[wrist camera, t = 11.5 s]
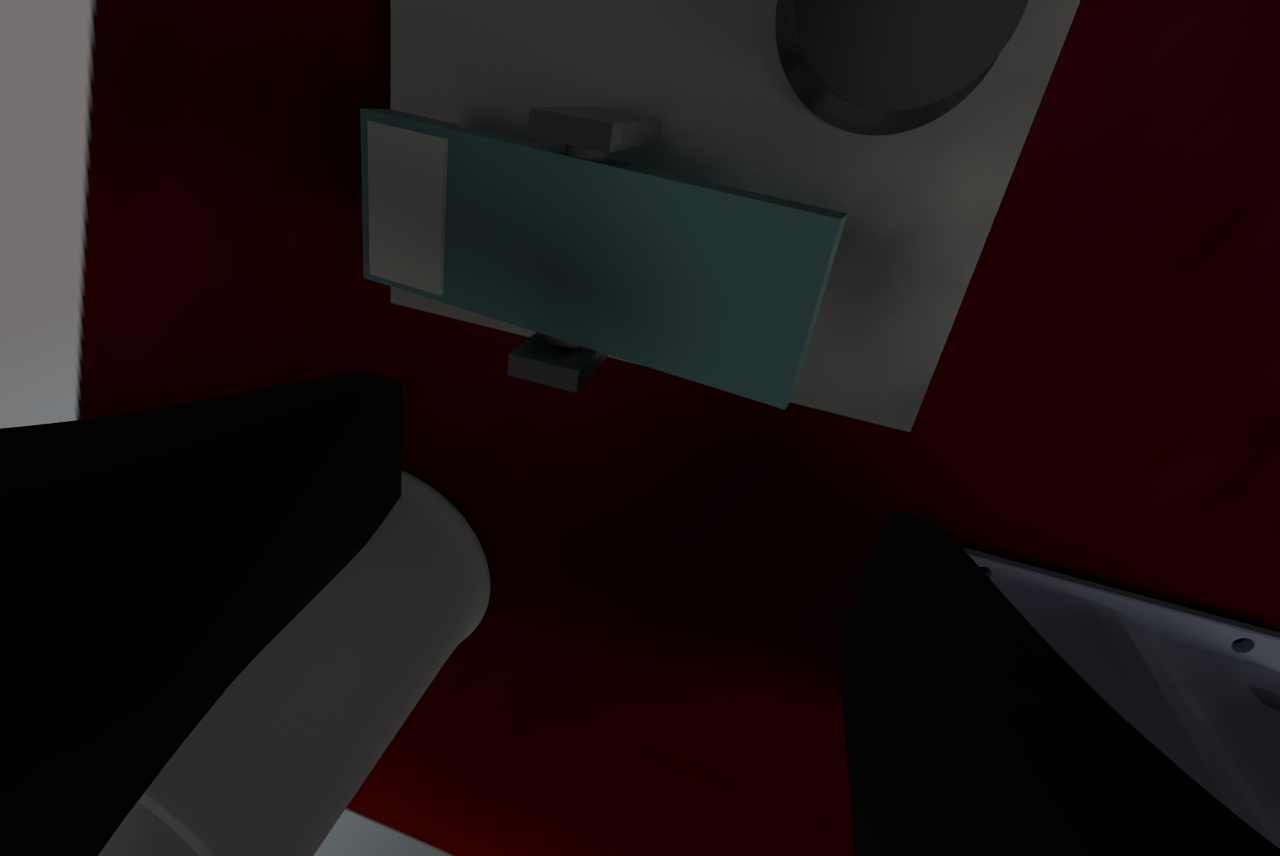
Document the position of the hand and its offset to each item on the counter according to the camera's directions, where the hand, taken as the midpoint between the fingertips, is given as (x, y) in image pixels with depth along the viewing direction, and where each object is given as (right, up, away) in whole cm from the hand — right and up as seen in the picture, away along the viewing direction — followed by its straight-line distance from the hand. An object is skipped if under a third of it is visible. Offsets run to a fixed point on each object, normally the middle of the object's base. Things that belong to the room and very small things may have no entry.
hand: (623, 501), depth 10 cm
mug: (-11, -3, +16) cm, 20 cm away
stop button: (+5, +9, +3) cm, 11 cm away
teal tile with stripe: (-1, +5, +5) cm, 7 cm away
